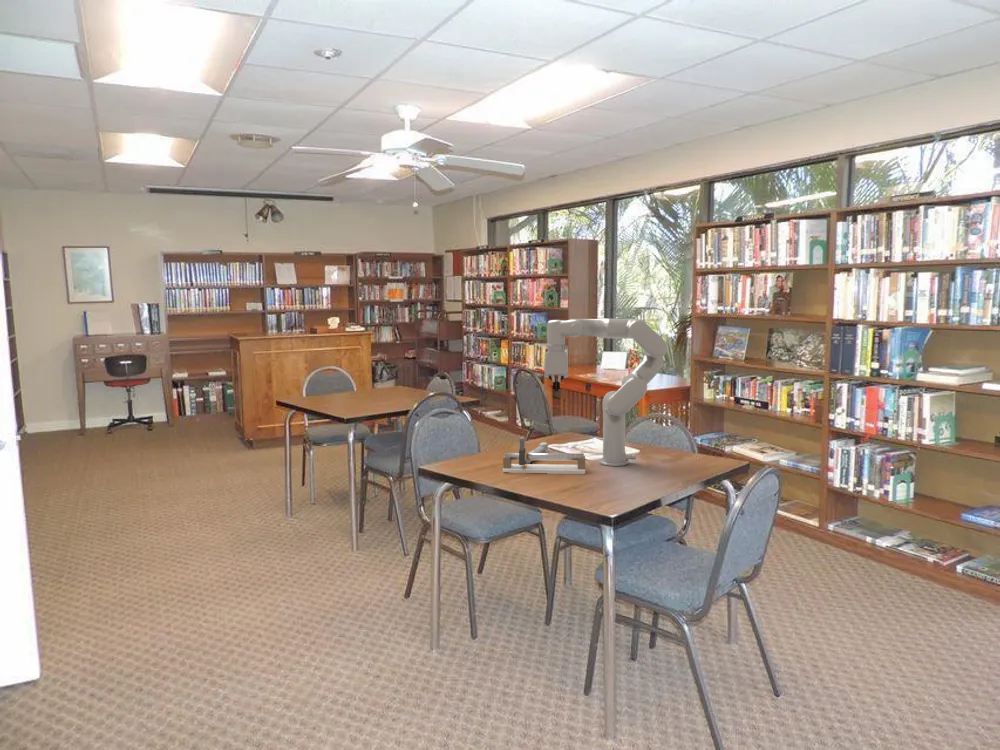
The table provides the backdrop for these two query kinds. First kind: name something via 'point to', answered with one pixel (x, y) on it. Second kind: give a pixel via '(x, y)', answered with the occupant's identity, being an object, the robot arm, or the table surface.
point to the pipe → (547, 456)
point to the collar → (522, 452)
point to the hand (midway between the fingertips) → (556, 390)
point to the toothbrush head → (539, 450)
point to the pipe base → (544, 467)
